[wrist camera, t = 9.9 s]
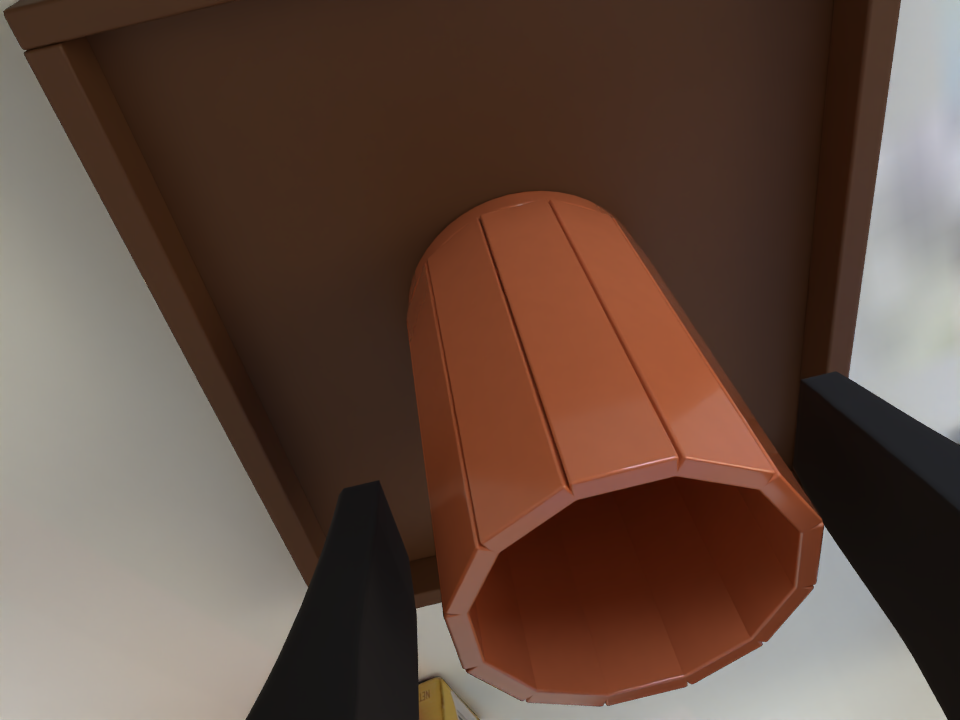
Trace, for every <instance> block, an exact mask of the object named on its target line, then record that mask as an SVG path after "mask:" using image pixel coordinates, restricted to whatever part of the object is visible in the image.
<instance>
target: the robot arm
mask: <svg viewBox="0 0 960 720" xmlns="http://www.w3.org/2000/svg"><path fill="white" fill-rule="evenodd" d="M793 467H794V469H795V471H796V473H797V475H798V477H799V479H800V481H801V483H802V485H803V487H804V489H805V491H806V493H807V495H808V497H809V499H810V501H811V503H812V504H813V506H814V507H815V509H816V510H817V512H818V513H819V515H820V516H821V518H822V521H823V524H824V525H825V527H826V528H827V530H828V531H829V533H830V534H831V536H832V537H833V539H834V540H835V542H836V543H837V545H838V546H839V548H840V549H841V551H842V552H843V554H844V555H845V556H846V558H847V559H848V561H849V562H850V564H851V565H852V567H853V568H854V570H855V571H856V572H857V574H858V575H859V577H860V578H861V580H862V581H863V583H864V584H865V585H866V587H867V588H868V590H869V591H870V593H871V594H872V596H873V597H874V598H875V600H876V601H877V603H878V604H879V606H880V607H881V609H882V610H883V611H884V613H885V614H886V616H887V617H888V619H889V620H890V622H891V623H892V624H893V626H894V627H895V629H896V630H897V632H898V633H899V635H900V637H901V638H902V640H903V641H904V643H905V645H906V646H907V648H908V649H909V651H910V652H911V654H912V656H913V657H914V659H915V661H916V663H917V665H918V666H919V668H920V670H921V672H922V674H923V675H924V677H925V679H926V681H927V683H928V684H929V686H930V688H931V690H932V692H933V694H934V695H935V697H936V699H937V701H938V703H939V704H940V706H941V708H942V710H943V712H944V714H945V715H946V717H947V719H948V720H960V445H958V444H957V443H955V442H953V441H951V440H950V439H948V438H946V437H944V436H943V435H941V434H939V433H937V432H936V431H934V430H932V429H931V428H929V427H927V426H926V425H924V424H922V423H921V422H919V421H917V420H916V419H914V418H912V417H911V416H909V415H907V414H906V413H904V412H902V411H901V410H899V409H897V408H896V407H894V406H893V405H891V404H889V403H888V402H886V401H884V400H883V399H881V398H880V397H878V396H876V395H875V394H873V393H871V392H870V391H868V390H867V389H865V388H863V387H862V386H860V385H858V384H857V383H855V382H854V381H852V380H850V379H849V378H847V377H845V376H844V375H842V374H840V373H838V372H837V371H835V372H831V373H827V374H822V375H818V376H814V377H810V378H806V379H801V380H800V391H799V403H798V414H797V425H796V437H795V448H794V459H793ZM246 720H419V688H418V646H417V614H416V606H415V598H414V591H413V583H412V576H411V569H410V562H409V557H408V554H407V551H406V549H405V546H404V543H403V541H402V538H401V536H400V533H399V530H398V528H397V525H396V523H395V520H394V517H393V515H392V512H391V510H390V507H389V504H388V502H387V499H386V497H385V494H384V491H383V489H382V486H381V484H380V481H379V480H377V481H373V482H369V483H364V484H360V485H356V486H352V487H347V488H344V489H343V490H342V491H341V493H340V494H339V497H338V500H337V504H336V508H335V511H334V515H333V518H332V521H331V525H330V528H329V531H328V534H327V537H326V540H325V543H324V546H323V549H322V552H321V555H320V558H319V561H318V563H317V566H316V569H315V571H314V574H313V577H312V579H311V582H310V584H309V587H308V590H307V592H306V595H305V597H304V600H303V602H302V605H301V607H300V610H299V612H298V614H297V617H296V619H295V621H294V623H293V626H292V628H291V630H290V632H289V634H288V637H287V639H286V641H285V643H284V646H283V648H282V650H281V652H280V655H279V657H278V659H277V661H276V663H275V665H274V667H273V669H272V671H271V673H270V675H269V677H268V679H267V681H266V683H265V685H264V687H263V689H262V690H261V692H260V694H259V696H258V698H257V700H256V702H255V703H254V705H253V707H252V709H251V711H250V713H249V714H248V716H247V718H246Z"/></svg>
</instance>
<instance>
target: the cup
mask: <svg viewBox="0 0 960 720" xmlns="http://www.w3.org/2000/svg"><path fill="white" fill-rule="evenodd" d="M406 322H407V330H408V338H409V346H410V354H411V362H412V370H413V378H414V386H415V394H416V402H417V410H418V418H419V426H420V434H421V442H422V450H423V458H424V465H425V473H426V481H427V489H428V497H429V505H430V513H431V521H432V529H433V537H434V545H435V553H436V561H437V569H438V577H439V585H440V593H441V601H442V609H443V617H444V619H445V622H446V625H447V627H448V630H449V633H450V636H451V638H452V641H453V644H454V646H455V649H456V652H457V655H458V657H459V660H460V663H461V665H462V668H463V669H466V672H467V673H469V674H470V675H472V676H474V677H476V678H478V679H480V680H482V681H484V682H486V683H488V684H490V685H492V686H493V687H495V688H497V689H499V690H501V691H503V692H505V693H507V694H509V695H511V696H513V697H514V698H516V699H518V700H520V701H524V700H526V702H528V703H544V704H562V705H581V706H600V707H601V706H603V705H604V704H606V705H607V706H610V705H614V704H618V703H622V702H626V701H630V700H634V699H639V698H643V697H647V696H651V695H655V694H659V693H663V692H667V691H671V690H676V689H680V688H684V687H687V685H688V683H690V684H694V683H696V682H698V681H700V680H702V679H703V678H705V677H707V676H709V675H710V674H712V673H714V672H716V671H718V670H719V669H721V668H723V667H725V666H727V665H728V664H730V663H732V662H734V661H736V660H737V659H739V658H741V657H743V656H745V655H746V654H748V653H750V652H752V651H753V650H755V649H757V648H759V647H761V646H762V645H763V643H762V642H767V641H768V640H769V639H770V638H771V637H772V636H773V635H774V633H775V632H776V631H777V630H778V629H779V628H780V627H781V625H782V624H783V623H784V622H785V621H786V620H787V619H788V617H789V616H790V615H791V614H792V613H793V612H794V611H795V609H796V608H797V607H798V606H799V605H800V604H801V603H802V601H803V600H804V599H805V598H806V597H807V596H808V595H809V593H810V592H811V591H812V590H813V588H814V586H813V585H815V584H816V582H817V575H818V568H819V560H820V553H821V545H822V538H823V530H824V524H823V521H822V518H821V516H820V515H819V513H818V512H817V510H816V509H815V507H814V506H813V504H812V503H811V501H810V500H809V498H808V497H807V495H806V494H805V492H804V491H803V489H802V488H801V486H800V485H799V483H798V482H797V480H796V479H795V477H794V476H793V474H792V473H791V471H790V470H789V468H788V467H787V465H786V464H785V462H784V461H783V459H782V458H781V456H780V455H779V453H778V452H777V450H776V449H775V447H774V446H773V444H772V443H771V441H770V440H769V438H768V437H767V435H766V434H765V432H764V431H763V429H762V428H761V426H760V425H759V423H758V422H757V420H756V419H755V417H754V416H753V414H752V413H751V411H750V410H749V408H748V407H747V405H746V404H745V402H744V401H743V399H742V398H741V396H740V395H739V393H738V392H737V390H736V389H735V387H734V386H733V384H732V383H731V381H730V380H729V378H728V377H727V375H726V374H725V372H724V371H723V369H722V368H721V366H720V365H719V363H718V362H717V360H716V359H715V357H714V356H713V354H712V353H711V351H710V350H709V348H708V347H707V345H706V344H705V342H704V341H703V339H702V338H701V336H700V335H699V333H698V332H697V330H696V329H695V327H694V326H693V324H692V323H691V321H690V320H689V318H688V317H687V315H686V314H685V312H684V311H683V309H682V308H681V306H680V305H679V303H678V302H677V300H676V299H675V297H674V296H673V294H672V293H671V291H670V290H669V288H668V287H667V285H666V284H665V282H664V281H663V279H662V278H661V276H660V275H659V273H658V272H657V270H656V269H655V267H654V266H653V264H652V263H651V261H650V260H649V258H648V257H647V256H646V255H645V253H644V252H643V251H642V250H641V249H640V248H639V246H638V245H637V244H636V243H635V242H634V240H633V238H632V237H631V236H630V234H629V233H628V231H627V230H626V229H625V227H624V226H623V225H622V224H621V223H620V222H619V221H618V220H617V219H616V218H615V217H614V216H613V215H612V214H610V213H609V212H608V211H606V210H605V209H603V208H602V207H600V206H598V205H596V204H595V203H593V202H591V201H589V200H586V199H583V198H580V197H578V196H575V195H570V194H566V193H561V192H552V191H527V192H520V193H514V194H508V195H505V196H502V197H498V198H495V199H492V200H489V201H487V202H485V203H483V204H480V205H478V206H476V207H474V208H473V209H471V210H469V211H467V212H466V213H464V214H462V215H461V216H460V217H458V218H457V219H456V220H454V221H453V222H452V223H450V224H449V225H448V226H447V227H446V228H445V229H444V230H443V231H442V232H441V233H440V234H439V235H438V236H437V237H436V238H435V239H434V241H433V242H432V243H431V244H430V246H429V247H428V248H427V250H426V251H425V253H424V255H423V256H422V258H421V260H420V261H419V263H418V266H417V268H416V271H415V273H414V275H413V279H412V282H411V286H410V290H409V300H408V313H407V321H406ZM687 682H688V683H687Z"/></svg>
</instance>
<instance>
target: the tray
mask: <svg viewBox="0 0 960 720" xmlns="http://www.w3.org/2000/svg"><path fill="white" fill-rule="evenodd" d="M900 3H901V0H19V1H18V2H16V3H15V4H13V5H12V6H10V7H8V8H7V9H6V10H4V11H3V13H4V16H5V18H6V20H7V22H8V24H9V26H10V28H11V30H12V31H13V33H14V35H15V37H16V39H17V41H18V43H19V45H20V46H21V48H22V49H23V50H27V51H25V52H24V55H25V57H26V59H27V61H28V63H29V65H30V67H31V68H32V70H33V72H34V74H35V76H36V78H37V80H38V82H39V83H40V85H41V87H42V89H43V91H44V93H45V95H46V97H47V98H48V100H49V102H50V104H51V106H52V108H53V110H54V112H55V113H56V115H57V117H58V119H59V121H60V123H61V125H62V127H63V128H64V130H65V132H66V134H67V136H68V138H69V140H70V142H71V143H72V145H73V147H74V149H75V151H76V153H77V155H78V157H79V158H80V160H81V162H82V164H83V166H84V168H85V170H86V172H87V173H88V175H89V177H90V179H91V181H92V183H93V185H94V187H95V189H96V190H97V192H98V194H99V196H100V198H101V200H102V202H103V204H104V205H105V207H106V209H107V211H108V213H109V215H110V217H111V219H112V220H113V222H114V224H115V226H116V228H117V230H118V232H119V234H120V235H121V237H122V239H123V241H124V243H125V245H126V247H127V249H128V250H129V252H130V254H131V256H132V258H133V260H134V262H135V264H136V265H137V267H138V269H139V271H140V273H141V275H142V277H143V279H144V280H145V282H146V284H147V286H148V288H149V290H150V292H151V294H152V295H153V297H154V299H155V301H156V303H157V305H158V307H159V309H160V310H161V312H162V314H163V316H164V318H165V320H166V322H167V324H168V325H169V327H170V329H171V331H172V333H173V335H174V337H175V339H176V340H177V342H178V344H179V346H180V348H181V350H182V352H183V354H184V356H185V357H186V359H187V361H188V363H189V365H190V367H191V369H192V371H193V372H194V374H195V376H196V378H197V380H198V382H199V384H200V386H201V387H202V389H203V391H204V393H205V395H206V397H207V399H208V401H209V402H210V404H211V406H212V408H213V410H214V412H215V414H216V416H217V417H218V419H219V421H220V423H221V425H222V427H223V429H224V431H225V432H226V434H227V436H228V438H229V440H230V442H231V444H232V446H233V447H234V449H235V451H236V453H237V455H238V457H239V459H240V461H241V462H242V464H243V466H244V468H245V470H246V472H247V474H248V476H249V477H250V479H251V481H252V483H253V485H254V487H255V489H256V491H257V492H258V494H259V496H260V498H261V500H262V502H263V504H264V506H265V508H266V509H267V511H268V513H269V515H270V517H271V519H272V521H273V523H274V524H275V526H276V528H277V530H278V532H279V534H280V536H281V538H282V539H283V541H284V543H285V545H286V547H287V549H288V551H289V553H290V554H291V556H292V558H293V560H294V562H295V564H296V566H297V568H298V569H299V571H300V573H301V575H302V577H303V579H304V581H305V583H306V584H307V586H308V587H309V584H310V582H311V579H312V577H313V574H314V571H315V569H316V566H317V563H318V561H319V558H320V555H321V552H322V549H323V546H324V543H325V540H326V537H327V534H328V531H329V528H330V525H331V521H332V518H333V515H334V511H335V508H336V504H337V500H338V497H339V494H340V493H341V491H342V490H343V489H344V488H347V487H352V486H356V485H360V484H364V483H369V482H373V481H377V480H379V481H380V484H381V486H382V489H383V491H384V494H385V497H386V499H387V502H388V504H389V507H390V510H391V512H392V515H393V517H394V520H395V523H396V525H397V528H398V530H399V533H400V536H401V538H402V541H403V543H404V546H405V549H406V551H407V554H408V557H409V562H410V569H411V576H412V583H413V591H414V598H415V606H416V608H420V607H424V606H428V605H433V604H437V603H441V602H442V601H441V593H440V585H439V577H438V569H437V561H436V553H435V545H434V537H433V529H432V521H431V513H430V505H429V497H428V489H427V481H426V473H425V465H424V458H423V450H422V442H421V434H420V426H419V418H418V410H417V402H416V394H415V386H414V378H413V370H412V362H411V354H410V346H409V338H408V330H407V322H406V321H407V313H408V300H409V290H410V286H411V282H412V279H413V275H414V273H415V271H416V268H417V266H418V263H419V261H420V260H421V258H422V256H423V255H424V253H425V251H426V250H427V248H428V247H429V246H430V244H431V243H432V242H433V241H434V239H435V238H436V237H437V236H438V235H439V234H440V233H441V232H442V231H443V230H444V229H445V228H446V227H447V226H448V225H449V224H450V223H452V222H453V221H454V220H456V219H457V218H458V217H460V216H461V215H462V214H464V213H466V212H467V211H469V210H471V209H473V208H474V207H476V206H478V205H480V204H483V203H485V202H487V201H489V200H492V199H495V198H498V197H502V196H505V195H508V194H514V193H520V192H527V191H552V192H561V193H566V194H570V195H575V196H578V197H580V198H583V199H586V200H589V201H591V202H593V203H595V204H596V205H598V206H600V207H602V208H603V209H605V210H606V211H608V212H609V213H610V214H612V215H613V216H614V217H615V218H616V219H617V220H618V221H619V222H620V223H621V224H622V225H623V226H624V227H625V229H626V230H627V231H628V233H629V234H630V236H631V237H632V238H633V240H634V242H635V243H636V244H637V245H638V246H639V248H640V249H641V250H642V251H643V252H644V253H645V255H646V256H647V257H648V258H649V260H650V261H651V263H652V264H653V266H654V267H655V269H656V270H657V272H658V273H659V275H660V276H661V278H662V279H663V281H664V282H665V284H666V285H667V287H668V288H669V290H670V291H671V293H672V294H673V296H674V297H675V299H676V300H677V302H678V303H679V305H680V306H681V308H682V309H683V311H684V312H685V314H686V315H687V317H688V318H689V320H690V321H691V323H692V324H693V326H694V327H695V329H696V330H697V332H698V333H699V335H700V336H701V338H702V339H703V341H704V342H705V344H706V345H707V347H708V348H709V350H710V351H711V353H712V354H713V356H714V357H715V359H716V360H717V362H718V363H719V365H720V366H721V368H722V369H723V371H724V372H725V374H726V375H727V377H728V378H729V380H730V381H731V383H732V384H733V386H734V387H735V389H736V390H737V392H738V393H739V395H740V396H741V398H742V399H743V401H744V402H745V404H746V405H747V407H748V408H749V410H750V411H751V413H752V414H753V416H754V417H755V419H756V420H757V422H758V423H759V425H760V426H761V428H762V429H763V431H764V432H765V434H766V435H767V437H768V438H769V440H770V441H771V443H772V444H773V446H774V447H775V449H776V450H777V452H778V453H779V455H780V456H781V458H782V459H783V461H784V462H785V464H786V465H787V467H788V468H789V470H790V471H791V473H792V474H793V476H794V477H795V479H796V480H797V482H798V483H799V485H800V486H801V488H802V489H803V491H804V492H805V494H806V495H807V493H806V491H805V489H804V487H803V485H802V483H801V481H800V479H799V477H798V475H797V473H796V471H795V469H794V467H793V459H794V448H795V437H796V425H797V414H798V403H799V391H800V380H801V379H806V378H810V377H814V376H818V375H822V374H827V373H831V372H835V371H837V372H838V373H840V374H842V375H844V376H845V377H847V378H848V377H849V370H850V362H851V355H852V348H853V341H854V334H855V326H856V319H857V312H858V305H859V298H860V291H861V283H862V276H863V269H864V262H865V255H866V247H867V240H868V233H869V226H870V219H871V212H872V204H873V197H874V190H875V183H876V176H877V168H878V161H879V154H880V147H881V140H882V133H883V125H884V118H885V111H886V104H887V97H888V89H889V82H890V75H891V68H892V61H893V54H894V46H895V39H896V32H897V25H898V18H899V10H900ZM807 497H808V495H807ZM808 498H809V497H808ZM809 500H810V499H809Z"/></svg>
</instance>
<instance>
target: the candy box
mask: <svg viewBox="0 0 960 720" xmlns="http://www.w3.org/2000/svg"><path fill="white" fill-rule="evenodd" d="M418 688H419V720H480V719H479V718H478V717H477V716H476V715H475V714H474V713H473V712H472V711H471V710H470V709H469V708H468V706H467V705H466V704H465V703H464V702H463V701H462V700H461V699H460V698H459V697H458V696H457V695H456V694H455V693H454V692H453V691H452V690H451V688H450V687H449V686H448V685H447V684H446V683H445V682H444V680H443V679H442V678H440V677H435V678H432V679H430V680H428V681H425V682H423V683H421V684H419V685H418Z"/></svg>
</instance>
